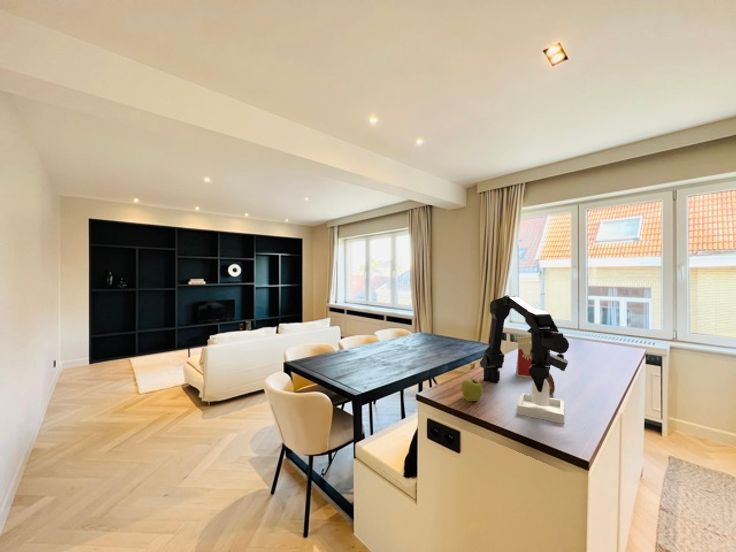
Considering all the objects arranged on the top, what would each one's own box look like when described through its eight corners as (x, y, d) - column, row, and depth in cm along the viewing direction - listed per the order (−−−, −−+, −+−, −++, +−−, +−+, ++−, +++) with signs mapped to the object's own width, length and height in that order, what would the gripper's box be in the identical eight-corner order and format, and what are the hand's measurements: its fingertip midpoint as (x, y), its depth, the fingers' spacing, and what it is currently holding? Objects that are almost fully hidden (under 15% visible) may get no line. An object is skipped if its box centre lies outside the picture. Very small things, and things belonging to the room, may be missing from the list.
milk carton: (536, 373, 153) (536, 334, 153) (535, 378, 145) (534, 337, 145) (516, 370, 158) (516, 332, 158) (514, 375, 150) (514, 335, 150)
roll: (533, 367, 115) (550, 370, 111) (534, 398, 115) (551, 402, 111) (530, 370, 110) (547, 374, 107) (530, 403, 110) (547, 407, 107)
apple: (454, 396, 123) (460, 371, 124) (469, 398, 126) (474, 375, 127) (468, 403, 115) (474, 377, 117) (483, 406, 118) (489, 380, 120)
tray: (517, 413, 108) (517, 405, 108) (521, 400, 120) (521, 392, 120) (563, 423, 101) (563, 414, 101) (563, 408, 113) (563, 400, 113)
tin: (555, 396, 124) (555, 376, 124) (547, 396, 124) (546, 375, 124) (542, 383, 138) (541, 365, 139) (534, 383, 139) (534, 365, 139)
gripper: (566, 355, 98) (566, 403, 98) (566, 344, 114) (566, 385, 114) (528, 351, 105) (528, 396, 105) (532, 341, 120) (533, 380, 120)
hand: (540, 389), depth 111 cm, fingers closed on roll, 6 cm apart
